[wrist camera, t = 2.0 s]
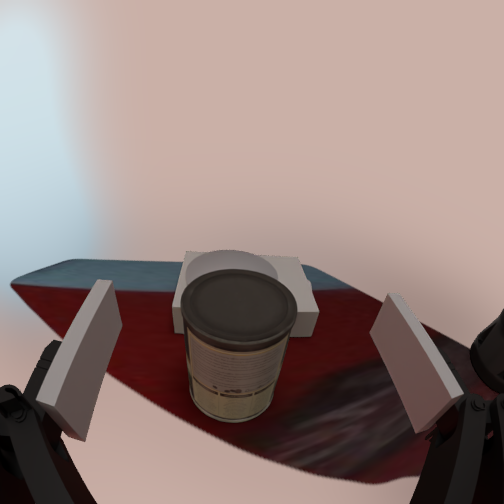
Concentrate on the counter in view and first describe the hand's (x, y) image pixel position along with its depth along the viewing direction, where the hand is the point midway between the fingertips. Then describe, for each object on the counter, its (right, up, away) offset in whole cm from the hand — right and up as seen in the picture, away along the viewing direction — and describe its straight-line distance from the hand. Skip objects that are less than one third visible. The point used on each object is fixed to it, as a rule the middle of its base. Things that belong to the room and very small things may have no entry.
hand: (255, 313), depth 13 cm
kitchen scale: (-2, -6, +33) cm, 34 cm away
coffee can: (-3, -14, +19) cm, 23 cm away
